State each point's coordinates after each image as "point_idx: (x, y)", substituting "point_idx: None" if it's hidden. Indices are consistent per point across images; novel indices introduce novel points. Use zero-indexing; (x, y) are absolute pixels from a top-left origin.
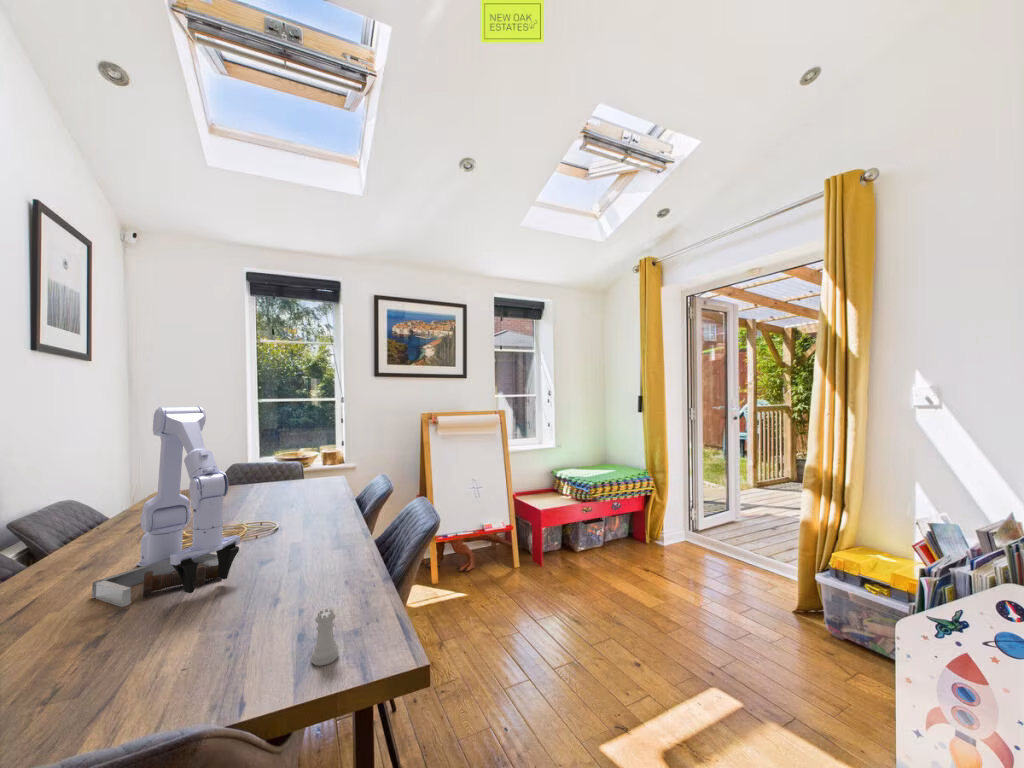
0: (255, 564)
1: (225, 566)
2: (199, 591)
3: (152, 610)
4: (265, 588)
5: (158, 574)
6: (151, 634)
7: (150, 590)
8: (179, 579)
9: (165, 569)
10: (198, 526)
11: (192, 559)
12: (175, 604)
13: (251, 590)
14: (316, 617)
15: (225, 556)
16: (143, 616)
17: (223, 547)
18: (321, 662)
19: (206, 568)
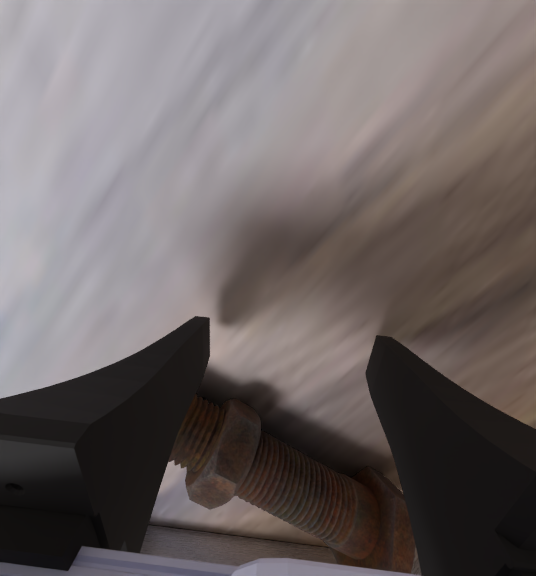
0: (7, 364)
1: (178, 365)
2: (292, 357)
3: (478, 377)
4: (132, 21)
5: (249, 549)
6: None
7: (389, 488)
8: (304, 473)
9: (227, 558)
10: None
11: (140, 551)
12: (419, 343)
13: (193, 101)
14: None
15: (142, 433)
16: (533, 365)
17: (93, 563)
18: None
19: (200, 458)
